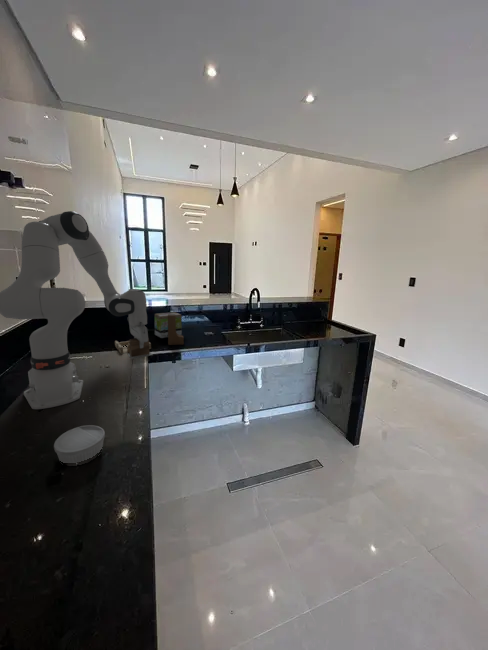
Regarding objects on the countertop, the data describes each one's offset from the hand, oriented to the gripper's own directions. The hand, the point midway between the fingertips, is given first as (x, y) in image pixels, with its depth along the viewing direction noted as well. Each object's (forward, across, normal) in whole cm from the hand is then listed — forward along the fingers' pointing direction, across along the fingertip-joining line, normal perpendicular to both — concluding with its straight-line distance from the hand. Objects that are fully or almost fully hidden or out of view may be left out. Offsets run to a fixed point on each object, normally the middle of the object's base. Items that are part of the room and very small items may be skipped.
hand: (139, 346), depth 141 cm
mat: (+5, 0, 0) cm, 5 cm away
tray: (+5, +14, 0) cm, 14 cm away
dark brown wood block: (+5, 0, 0) cm, 5 cm away
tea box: (+5, +29, -27) cm, 40 cm away
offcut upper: (+2, +8, 0) cm, 8 cm away
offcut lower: (+5, +8, 0) cm, 9 cm away
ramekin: (+6, -67, +34) cm, 75 cm away
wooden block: (+5, +9, -24) cm, 26 cm away
